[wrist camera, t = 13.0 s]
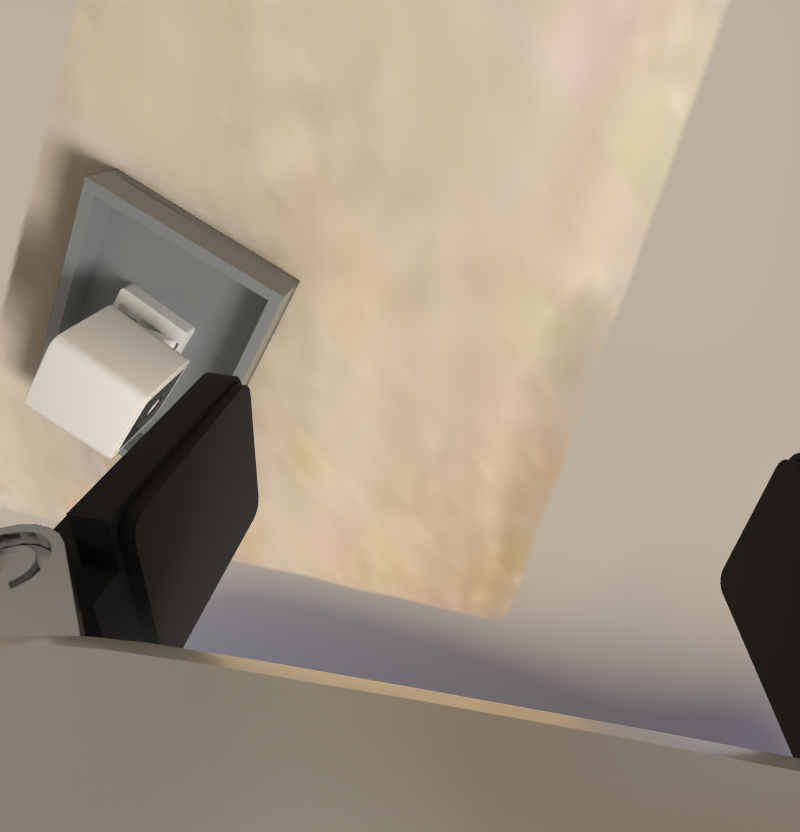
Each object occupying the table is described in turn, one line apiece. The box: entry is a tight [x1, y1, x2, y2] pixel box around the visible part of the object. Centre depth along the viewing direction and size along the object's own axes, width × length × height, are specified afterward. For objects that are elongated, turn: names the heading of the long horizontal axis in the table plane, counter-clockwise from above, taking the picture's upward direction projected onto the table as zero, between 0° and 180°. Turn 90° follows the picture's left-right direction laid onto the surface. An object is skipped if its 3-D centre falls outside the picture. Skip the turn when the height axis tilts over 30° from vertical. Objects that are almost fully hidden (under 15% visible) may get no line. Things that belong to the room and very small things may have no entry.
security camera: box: [24, 283, 195, 459], centre depth 39 cm, size 6×7×10 cm
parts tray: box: [37, 169, 300, 456], centre depth 43 cm, size 20×14×4 cm
